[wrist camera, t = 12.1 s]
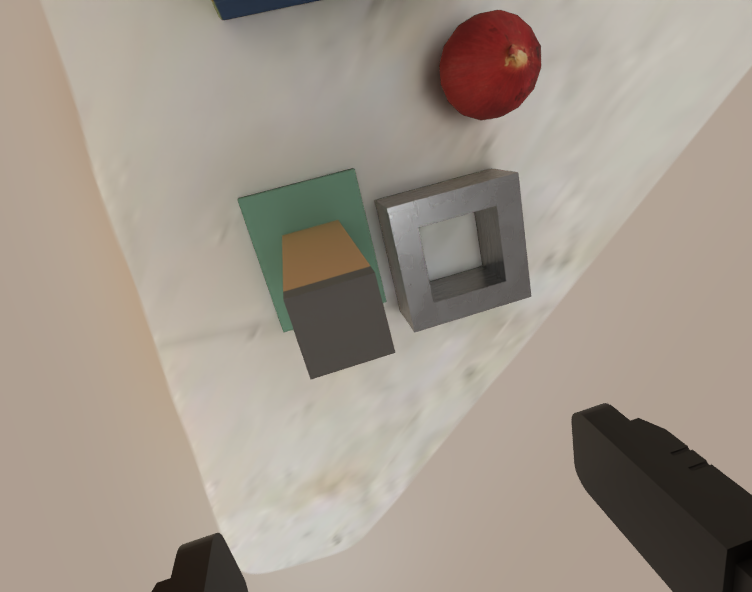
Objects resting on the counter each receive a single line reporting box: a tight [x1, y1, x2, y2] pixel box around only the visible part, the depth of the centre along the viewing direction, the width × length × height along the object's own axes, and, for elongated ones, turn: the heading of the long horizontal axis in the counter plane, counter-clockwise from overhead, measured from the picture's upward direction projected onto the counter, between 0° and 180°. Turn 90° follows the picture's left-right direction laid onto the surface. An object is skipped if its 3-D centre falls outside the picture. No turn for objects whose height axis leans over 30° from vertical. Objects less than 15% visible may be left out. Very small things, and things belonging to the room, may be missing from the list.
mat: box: [238, 168, 386, 332], centre depth 32 cm, size 10×8×1 cm
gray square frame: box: [375, 168, 531, 332], centre depth 32 cm, size 9×9×4 cm
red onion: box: [439, 10, 541, 120], centre depth 26 cm, size 6×6×8 cm
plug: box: [282, 220, 395, 379], centre depth 25 cm, size 4×4×13 cm
